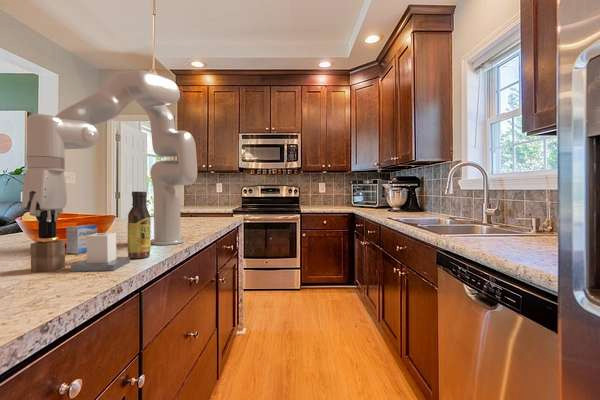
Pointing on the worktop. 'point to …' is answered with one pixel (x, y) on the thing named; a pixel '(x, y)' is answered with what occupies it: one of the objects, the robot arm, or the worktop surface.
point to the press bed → (101, 265)
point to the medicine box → (78, 238)
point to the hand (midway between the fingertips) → (47, 237)
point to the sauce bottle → (139, 227)
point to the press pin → (47, 240)
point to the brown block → (47, 256)
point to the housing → (101, 247)
